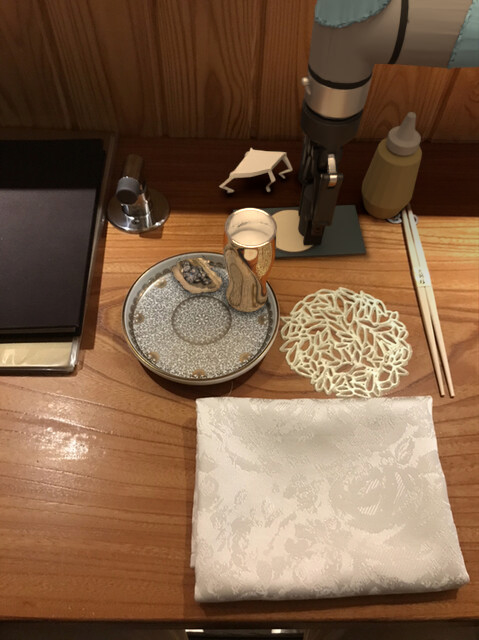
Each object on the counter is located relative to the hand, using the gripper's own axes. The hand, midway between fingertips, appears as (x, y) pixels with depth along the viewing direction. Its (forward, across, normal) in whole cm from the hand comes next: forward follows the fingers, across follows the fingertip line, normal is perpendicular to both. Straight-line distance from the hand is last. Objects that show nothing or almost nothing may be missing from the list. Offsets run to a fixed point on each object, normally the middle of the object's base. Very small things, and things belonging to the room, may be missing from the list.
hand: (309, 228), depth 89 cm
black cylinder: (0, 0, 0) cm, 0 cm away
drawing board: (+1, 0, -2) cm, 2 cm away
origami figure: (+1, -11, -8) cm, 14 cm away
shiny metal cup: (+1, +12, -11) cm, 16 cm away
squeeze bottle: (+1, -5, +13) cm, 14 cm away
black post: (+1, -12, +2) cm, 12 cm away
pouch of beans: (+1, +8, -18) cm, 19 cm away
